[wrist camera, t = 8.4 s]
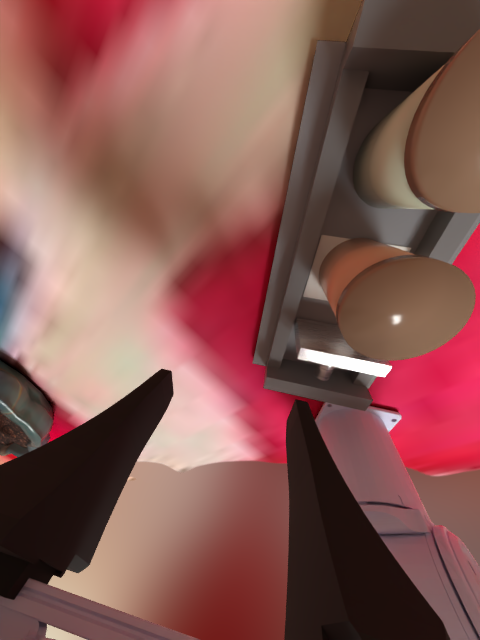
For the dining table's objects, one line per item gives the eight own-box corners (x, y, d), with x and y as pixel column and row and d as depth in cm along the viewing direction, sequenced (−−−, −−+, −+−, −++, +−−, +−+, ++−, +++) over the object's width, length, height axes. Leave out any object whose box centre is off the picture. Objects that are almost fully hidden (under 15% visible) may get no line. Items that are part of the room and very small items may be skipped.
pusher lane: (365, 382, 21) (381, 414, 17) (253, 358, 22) (248, 384, 19) (569, 66, 9) (719, -8, 6) (315, 51, 11) (330, -18, 7)
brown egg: (418, 215, 13) (547, 222, 7) (338, 205, 13) (388, 202, 7) (475, 105, 10) (775, -52, 4) (373, 97, 10) (500, -55, 4)
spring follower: (349, 364, 19) (366, 403, 15) (286, 351, 19) (287, 386, 16) (367, 330, 17) (392, 366, 13) (296, 317, 17) (301, 348, 14)
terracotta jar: (370, 308, 16) (424, 370, 10) (308, 295, 16) (324, 347, 10) (406, 243, 13) (510, 273, 7) (332, 230, 14) (371, 248, 8)
